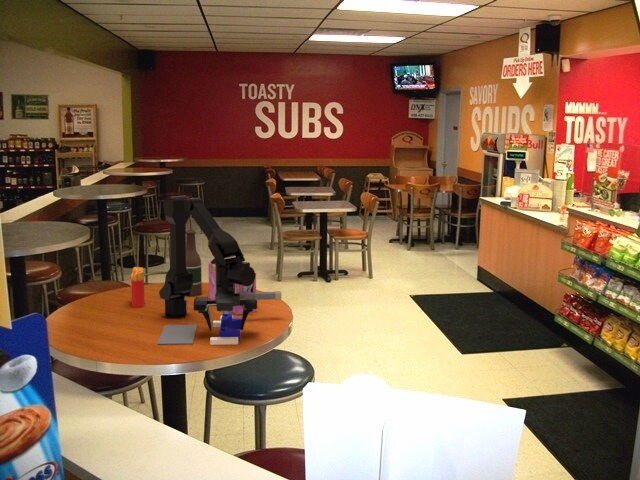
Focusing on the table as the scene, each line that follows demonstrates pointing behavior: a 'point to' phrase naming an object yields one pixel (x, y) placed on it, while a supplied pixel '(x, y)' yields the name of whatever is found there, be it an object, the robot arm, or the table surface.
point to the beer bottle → (193, 263)
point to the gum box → (238, 288)
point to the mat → (177, 335)
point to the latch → (259, 296)
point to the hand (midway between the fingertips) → (226, 330)
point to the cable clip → (230, 326)
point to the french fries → (137, 287)
